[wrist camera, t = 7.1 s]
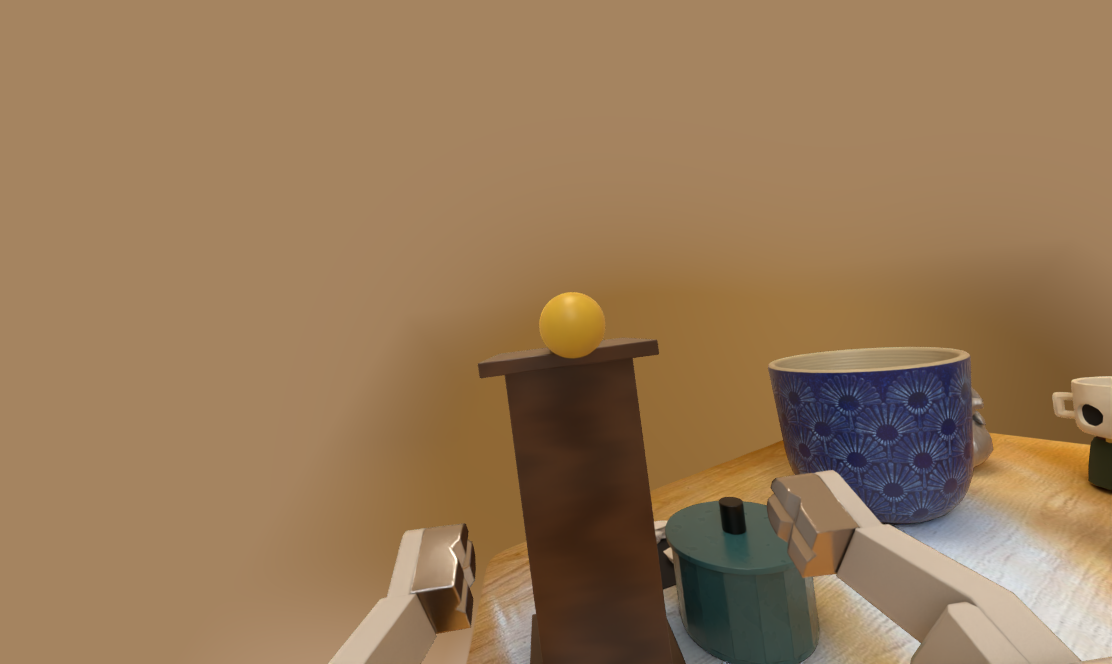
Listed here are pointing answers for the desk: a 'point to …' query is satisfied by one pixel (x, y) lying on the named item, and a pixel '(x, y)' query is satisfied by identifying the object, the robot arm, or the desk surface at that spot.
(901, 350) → the planter
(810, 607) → the pot
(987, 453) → the heart
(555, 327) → the yellow rounded rod
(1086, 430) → the character mug
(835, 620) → the desk surface
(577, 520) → the stand
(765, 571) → the pot lid
